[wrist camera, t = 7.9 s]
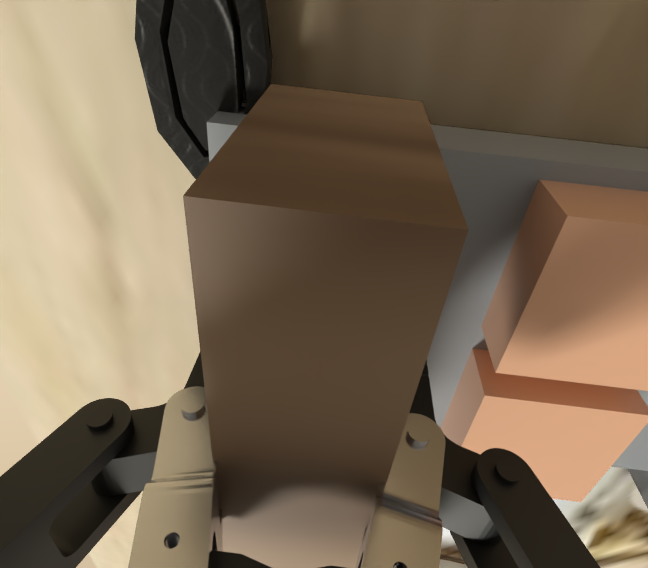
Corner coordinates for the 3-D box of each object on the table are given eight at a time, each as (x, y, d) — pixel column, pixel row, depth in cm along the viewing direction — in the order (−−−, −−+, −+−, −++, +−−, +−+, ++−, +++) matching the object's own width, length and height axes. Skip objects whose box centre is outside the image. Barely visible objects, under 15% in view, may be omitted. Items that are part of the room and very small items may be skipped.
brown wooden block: (271, 84, 10) (183, 195, 5) (421, 100, 10) (468, 230, 5) (265, 439, 19) (229, 608, 14) (348, 450, 19) (340, 622, 14)
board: (227, 101, 13) (206, 122, 11) (863, 172, 12) (937, 203, 11) (239, 381, 20) (227, 419, 18) (643, 431, 20) (668, 473, 18)
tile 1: (539, 179, 11) (567, 215, 10) (737, 201, 11) (799, 242, 10) (481, 326, 14) (495, 372, 13) (637, 344, 14) (672, 394, 12)
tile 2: (472, 348, 15) (484, 395, 13) (622, 366, 15) (653, 416, 13) (436, 437, 18) (443, 484, 16) (561, 452, 18) (580, 501, 16)
